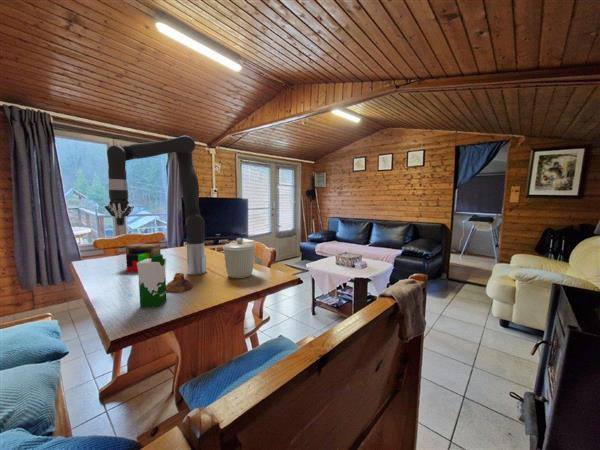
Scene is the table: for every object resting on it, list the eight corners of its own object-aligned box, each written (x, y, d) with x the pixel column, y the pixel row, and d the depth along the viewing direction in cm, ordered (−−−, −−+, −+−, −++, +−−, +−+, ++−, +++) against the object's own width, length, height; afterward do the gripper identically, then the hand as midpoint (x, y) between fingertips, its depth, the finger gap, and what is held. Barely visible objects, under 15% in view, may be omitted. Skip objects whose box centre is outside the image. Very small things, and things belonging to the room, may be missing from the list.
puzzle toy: (138, 267, 158) (137, 251, 157) (154, 267, 158) (153, 251, 157) (127, 272, 148) (126, 255, 147) (144, 272, 148) (143, 255, 147)
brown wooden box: (161, 266, 160) (160, 244, 158) (154, 270, 152) (153, 246, 151) (135, 266, 160) (133, 243, 158) (126, 270, 152) (125, 246, 151)
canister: (245, 282, 133) (245, 241, 130) (215, 278, 138) (215, 239, 136) (262, 273, 150) (262, 236, 147) (234, 270, 155) (234, 235, 153)
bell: (186, 293, 118) (186, 277, 117) (159, 293, 118) (159, 277, 117) (196, 284, 129) (195, 270, 129) (171, 284, 129) (171, 270, 128)
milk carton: (160, 308, 101) (158, 257, 99) (136, 308, 100) (133, 258, 98) (169, 299, 110) (167, 253, 108) (147, 300, 109) (145, 253, 107)
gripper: (137, 189, 128) (139, 224, 130) (110, 189, 128) (112, 224, 130) (127, 189, 120) (129, 226, 122) (98, 188, 120) (100, 226, 122)
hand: (120, 225), depth 126 cm, fingers closed
